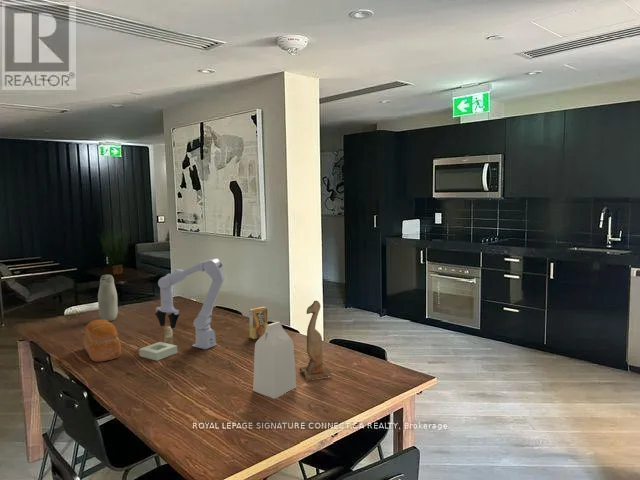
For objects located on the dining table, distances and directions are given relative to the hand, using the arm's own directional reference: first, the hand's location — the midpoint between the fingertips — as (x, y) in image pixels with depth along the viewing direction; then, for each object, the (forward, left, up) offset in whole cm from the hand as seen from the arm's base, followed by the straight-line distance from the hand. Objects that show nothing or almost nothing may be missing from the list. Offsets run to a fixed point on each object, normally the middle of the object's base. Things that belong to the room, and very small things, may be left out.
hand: (167, 326), depth 232 cm
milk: (-78, +16, -10) cm, 80 cm away
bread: (+18, +24, -10) cm, 32 cm away
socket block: (-7, +12, -9) cm, 17 cm away
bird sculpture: (-84, -4, -10) cm, 85 cm away
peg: (0, 0, -9) cm, 9 cm away
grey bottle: (+67, -13, -9) cm, 69 cm away
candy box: (-31, -33, -9) cm, 46 cm away
